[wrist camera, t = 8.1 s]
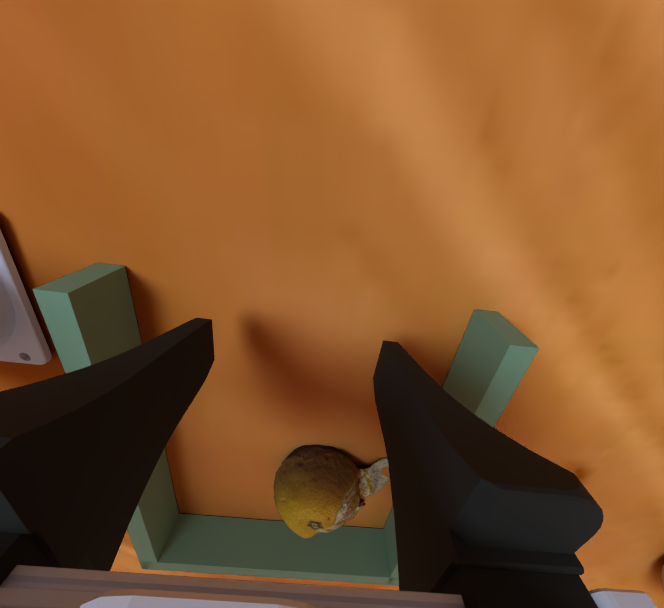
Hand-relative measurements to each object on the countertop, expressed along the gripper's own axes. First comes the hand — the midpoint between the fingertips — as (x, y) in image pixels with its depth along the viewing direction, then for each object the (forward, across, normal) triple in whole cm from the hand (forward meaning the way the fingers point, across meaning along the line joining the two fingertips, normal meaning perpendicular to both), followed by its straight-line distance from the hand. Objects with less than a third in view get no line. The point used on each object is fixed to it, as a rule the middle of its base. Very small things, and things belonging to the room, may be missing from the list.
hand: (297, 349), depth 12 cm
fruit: (+3, -4, +13) cm, 14 cm away
